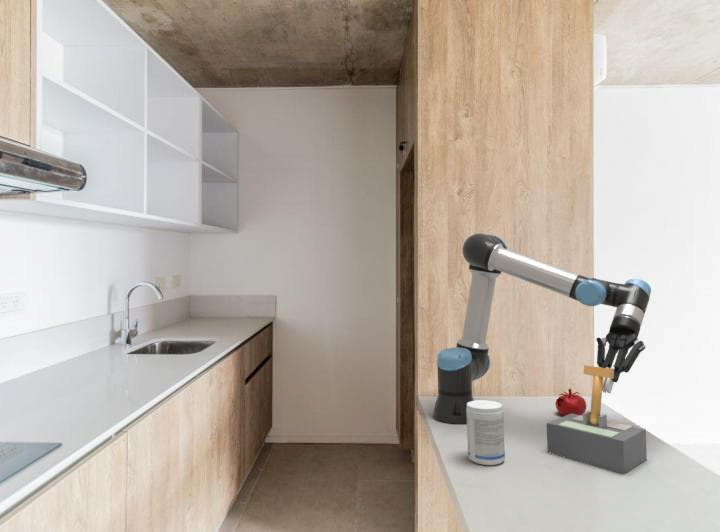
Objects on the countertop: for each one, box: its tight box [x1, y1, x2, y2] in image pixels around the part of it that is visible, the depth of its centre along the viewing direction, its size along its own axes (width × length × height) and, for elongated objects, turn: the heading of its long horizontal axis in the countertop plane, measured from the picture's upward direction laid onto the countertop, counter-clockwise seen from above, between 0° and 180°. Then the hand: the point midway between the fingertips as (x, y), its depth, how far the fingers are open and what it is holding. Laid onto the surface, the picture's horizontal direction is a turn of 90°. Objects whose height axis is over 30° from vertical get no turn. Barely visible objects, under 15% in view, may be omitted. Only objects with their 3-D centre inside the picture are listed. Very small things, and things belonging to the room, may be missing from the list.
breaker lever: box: [582, 364, 614, 425], centre depth 130 cm, size 7×2×16 cm, turn 39°
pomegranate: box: [555, 388, 587, 417], centre depth 167 cm, size 10×10×9 cm
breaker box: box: [546, 410, 648, 475], centre depth 129 cm, size 20×14×11 cm
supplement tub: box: [466, 399, 506, 466], centre depth 127 cm, size 10×10×15 cm
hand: (605, 389), depth 131 cm, fingers closed
